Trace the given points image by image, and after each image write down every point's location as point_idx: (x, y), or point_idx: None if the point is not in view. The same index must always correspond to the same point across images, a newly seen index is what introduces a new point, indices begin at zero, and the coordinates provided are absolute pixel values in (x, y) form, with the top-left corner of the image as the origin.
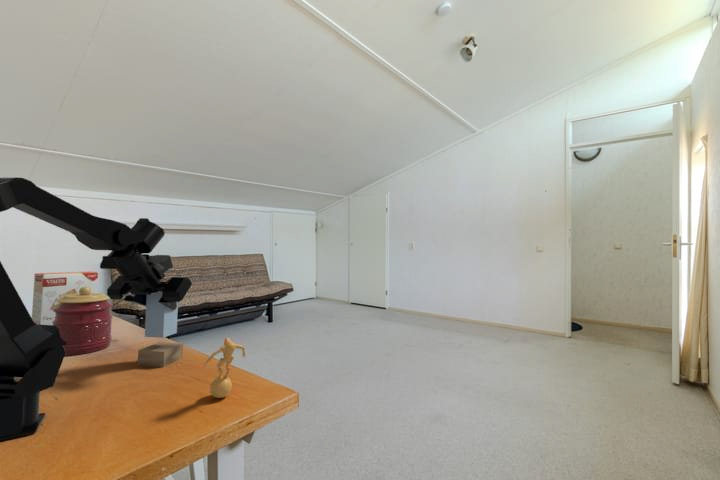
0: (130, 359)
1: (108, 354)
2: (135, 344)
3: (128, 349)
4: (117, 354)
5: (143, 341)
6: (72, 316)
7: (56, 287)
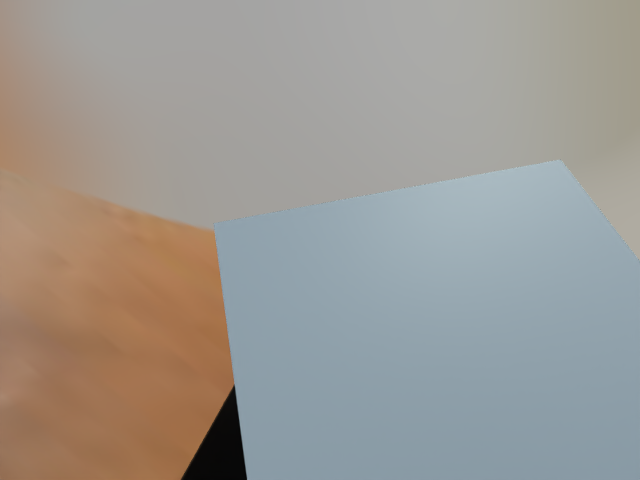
0: (188, 440)
1: (23, 437)
2: (40, 286)
3: (63, 346)
4: (69, 417)
5: (44, 246)
6: None
7: None
